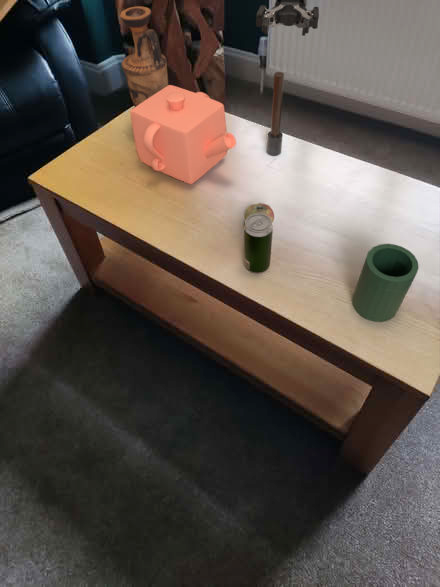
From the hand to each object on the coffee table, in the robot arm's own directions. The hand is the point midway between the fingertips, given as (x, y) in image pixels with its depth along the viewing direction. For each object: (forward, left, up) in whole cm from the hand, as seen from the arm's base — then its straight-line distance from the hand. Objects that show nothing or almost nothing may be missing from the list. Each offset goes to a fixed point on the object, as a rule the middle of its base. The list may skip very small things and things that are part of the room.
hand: (284, 30), depth 97 cm
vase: (+29, -16, -26) cm, 42 cm away
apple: (+22, +30, -26) cm, 45 cm away
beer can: (+28, +39, -26) cm, 54 cm away
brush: (+5, +7, -26) cm, 27 cm away
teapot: (+26, +3, -26) cm, 37 cm away
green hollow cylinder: (+13, +58, -26) cm, 65 cm away
